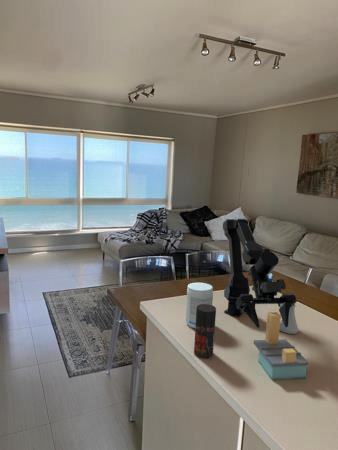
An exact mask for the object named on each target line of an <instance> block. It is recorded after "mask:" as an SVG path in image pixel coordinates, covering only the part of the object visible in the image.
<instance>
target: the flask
mask: <svg viewBox="0 0 338 450" xmlns="http://www.w3.org/2000/svg"><path fill="white" fill-rule="evenodd" d="M296 305H297V304H296V303H295V304H294V305H293V306H292V307H291V308H290V310H289V319H288V327H285V325H284V323H283V320H282V319H281V320H280V329H279V332H283V333H286V334H290V335H292V334H293V335H297V334H298V333H299V332H300V331H299V327H298V323H297V319H296V315H295V307H296Z"/></svg>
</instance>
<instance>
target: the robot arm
mask: <svg viewBox="0 0 338 450" xmlns="http://www.w3.org/2000/svg"><path fill="white" fill-rule="evenodd" d="M222 230H223V232H224V236H225V237H226V239H227V241H228V246H229V247H228V249H229V263H230V277H229V278H228V280H227V285H226V287H225V289H224V291H223V296H224V298H225V299H226V300H227V301H228V302H227V308H226V309H225V310H224V311H223V312H224V314H228V315H232V316H235V317H238V318H239V317H240V316H242V315H243V314H244V313H245V314H246V316H247V317H248V318H250V320H251V322H252V323H253V324H254V325H255V327H256V328H257V329H260V325H261V324H260V322H259V317H258V313H257V310H256V305H271V304H272V305H277V306H278V307H279V308H278V312H279V315H281V321H282V320H283V323H284V325H285V327H288V319H289V310H290V308H291V307H292V306H293V305H294V304H295V305H296V303H297V302H298V299H297V296H296V295H295V294H294V293H283V294H281V296H279V297H276V296H277V295H278V293H282V291H283V290H286V289H287V287H286V286H287V285H286V281H285V279H283V278H282V279H281V278H280V279H276V280H275V281H272V279H270V277H269V275H270V274H271V273H272V272H273V270H274V269H275V268H276V266H278V264H279V257H278V255H277V254H275V253H274V252H272V251H271V250H270V248H263V246H262V245H260V244H259V243H257V241H256V240H255V237H254V235H253V233H252V231H251V228H250V227H249V220H248V219H246V218H231V219H230V218H226V220H224V221H223V222H222ZM242 248H243V250H242ZM243 262H244V264H245V266H246V265H248V266H249V265H250V266H251V267H250V268H249V270H248V276H249V277H250V279H251V283H252V287H251V289H250V286H249V279H248V277H245V275H244V272H243V271H244V270H243V269H244V268H243ZM251 290H252V292H254V295H255V297H254V295H253V294H250V291H251Z"/></svg>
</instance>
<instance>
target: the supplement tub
mask: <svg viewBox="0 0 338 450" xmlns="http://www.w3.org/2000/svg"><path fill="white" fill-rule="evenodd" d="M213 297H214V287H213V285H211V284H209V283H206V282H191V283H188V285H187V289H186V304H185V305H186V309H185V310H186V311H185V323H186V324H187V326H188V327H190V328H193V329H195V325H196V309H197V306H198V305H200V304H209V305H212V306H213V299H214V298H213Z"/></svg>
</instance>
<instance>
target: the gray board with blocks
mask: <svg viewBox="0 0 338 450" xmlns="http://www.w3.org/2000/svg"><path fill="white" fill-rule="evenodd" d="M281 320H282V317H281V315H280V313H278V312H277V311H276V312H275V311H274V312H271V311H270V312H267V317H266V328H265V329H266V330H265V339H254V340H253V343H252V344H253V345H254V346H255V347H256V348H257V350H258V352H259V351H260V352H261V354H262V355H263V356H264V357H265V359H266V360H267V361H268V363H269V364H270V365H271V366H272V367H289V366H307V367H308V366H309V361H308V360H307V359H306V358H305V357H304V356H303V355H302V352H300V351H298V350H297V349H296V348H295V346H294V345H292V344H291V343H290V342H289V341H288V340H287V339H285V338H284V339H283V338H282V339H281V338H280V339H279V336H280V330H279V329H280V323H281Z"/></svg>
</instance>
